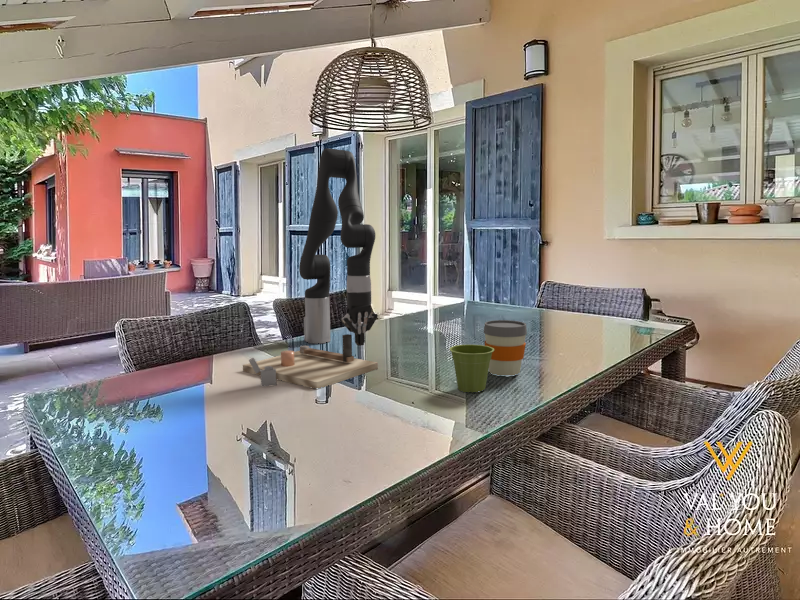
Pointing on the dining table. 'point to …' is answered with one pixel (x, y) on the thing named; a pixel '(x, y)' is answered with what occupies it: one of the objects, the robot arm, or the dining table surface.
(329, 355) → the lever
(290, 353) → the peach rounded cube
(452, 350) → the plant pot
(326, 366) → the board
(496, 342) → the reusable coffee cup
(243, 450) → the dining table surface
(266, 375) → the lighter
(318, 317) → the robot arm
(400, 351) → the dining table surface
